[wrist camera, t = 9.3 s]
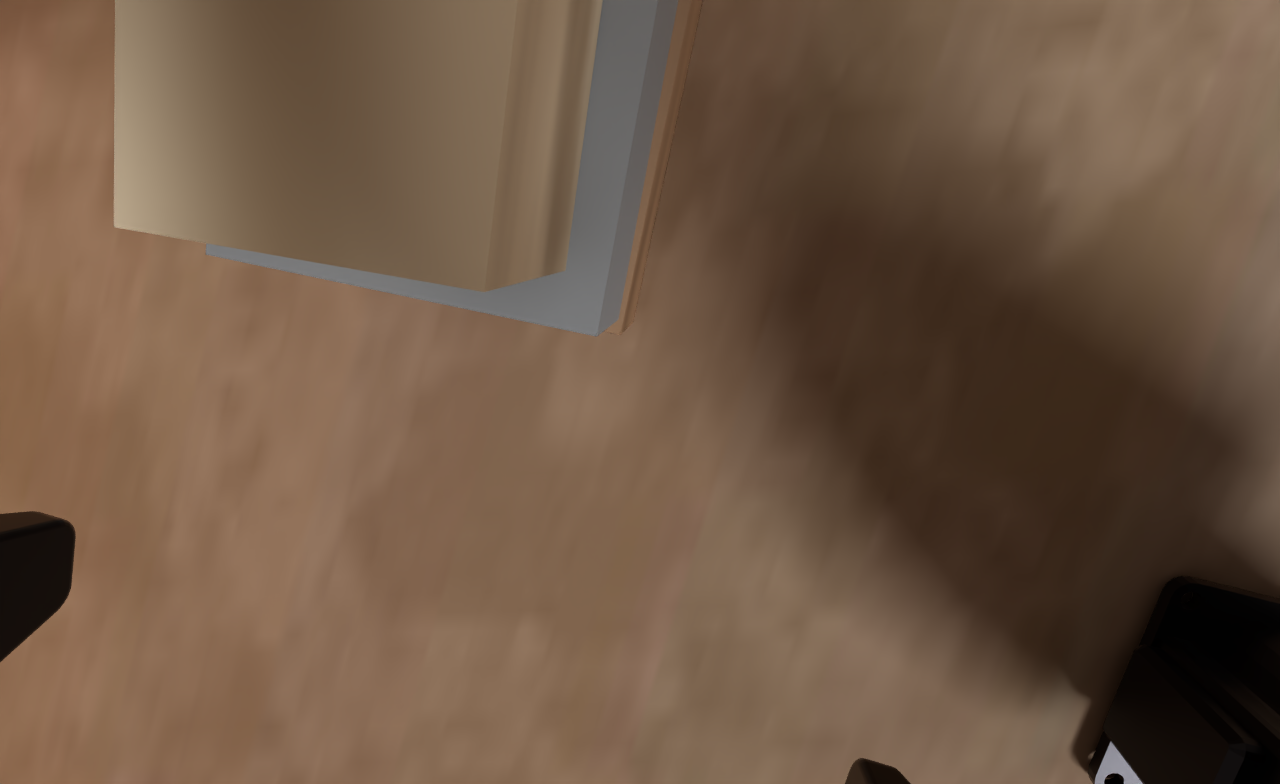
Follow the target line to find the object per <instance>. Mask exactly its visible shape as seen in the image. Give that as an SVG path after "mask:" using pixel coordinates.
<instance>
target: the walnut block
mask: <svg viewBox="0 0 1280 784" xmlns="http://www.w3.org/2000/svg"><path fill="white" fill-rule="evenodd" d="M702 2H703V0H678V5H677V10H676V16H675V21H674V26H673V32H672V37H671V42H670V48H669V53H668V58H667V64H666V69H665V74H664V80H663V85H662V90H661V96H660V101H659V106H658V112H657V117H656V122H655V127H654V133H653V138H652V143H651V149H650V154H649V159H648V165H647V170H646V175H645V181H644V186H643V191H642V197H641V202H640V207H639V213H638V218H637V223H636V229H635V234H634V239H633V245H632V250H631V255H630V260H629V266H628V271H627V276H626V282H625V287H624V292H623V298H622V303H621V308H620V314H619V319H618V320H617V321H616V322H615V323H613V324H612V325H611V326H610V327H608V328H607V329H606V330H604V331H605V332H609V333H614V334H618V335H621V334H622V333H623V332H624V331H625V330H626V329H627V328H628V327H629V326H630V325H631V324H632V323H633V321H634V316H635V312H636V307H637V302H638V298H639V293H640V289H641V284H642V279H643V275H644V270H645V265H646V261H647V256H648V252H649V247H650V242H651V238H652V233H653V228H654V224H655V219H656V215H657V210H658V205H659V201H660V196H661V191H662V187H663V182H664V178H665V173H666V168H667V164H668V159H669V154H670V150H671V145H672V141H673V136H674V131H675V127H676V122H677V117H678V113H679V108H680V104H681V99H682V94H683V90H684V85H685V80H686V76H687V71H688V67H689V62H690V57H691V53H692V48H693V43H694V39H695V34H696V30H697V25H698V20H699V16H700V11H701V6H702Z"/></svg>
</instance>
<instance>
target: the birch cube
mask: <svg viewBox="0 0 1280 784" xmlns="http://www.w3.org/2000/svg"><path fill="white" fill-rule="evenodd" d="M602 2H603V0H115V120H114V227H116V228H122V229H128V230H133V231H139V232H145V233H150V234H156V235H162V236H168V237H173V238H179V239H185V240H190V241H196V242H202V243H207V244H213V245H219V246H224V247H230V248H236V249H241V250H247V251H253V252H259V253H264V254H270V255H276V256H281V257H287V258H293V259H298V260H304V261H310V262H315V263H321V264H327V265H333V266H338V267H344V268H350V269H355V270H361V271H367V272H372V273H378V274H384V275H389V276H395V277H401V278H406V279H412V280H418V281H424V282H429V283H435V284H441V285H446V286H452V287H458V288H463V289H469V290H475V291H480V292H487V291H491V290H494V289H498V288H502V287H506V286H509V285H513V284H517V283H521V282H524V281H528V280H532V279H536V278H540V277H543V276H547V275H551V274H555V273H558V272H562V271H565V270H566V263H567V256H568V248H569V241H570V234H571V227H572V219H573V212H574V205H575V198H576V190H577V183H578V176H579V169H580V161H581V154H582V147H583V140H584V132H585V125H586V118H587V111H588V103H589V96H590V89H591V82H592V74H593V67H594V60H595V53H596V45H597V38H598V31H599V23H600V16H601V9H602Z"/></svg>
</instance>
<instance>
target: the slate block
mask: <svg viewBox="0 0 1280 784" xmlns="http://www.w3.org/2000/svg"><path fill="white" fill-rule="evenodd" d="M677 5H678V0H603V2H602V9H601V16H600V23H599V31H598V38H597V45H596V53H595V60H594V67H593V74H592V82H591V89H590V96H589V103H588V111H587V118H586V125H585V132H584V140H583V147H582V154H581V161H580V169H579V176H578V183H577V190H576V198H575V205H574V212H573V219H572V227H571V234H570V241H569V248H568V256H567V263H566V270H565V271H562V272H558V273H555V274H551V275H547V276H543V277H540V278H536V279H532V280H528V281H524V282H521V283H517V284H513V285H509V286H506V287H502V288H498V289H494V290H491V291H487V292H480V291H475V290H469V289H463V288H458V287H452V286H446V285H441V284H435V283H429V282H424V281H418V280H412V279H406V278H401V277H395V276H389V275H384V274H378V273H372V272H367V271H361V270H355V269H350V268H344V267H338V266H333V265H327V264H321V263H315V262H310V261H304V260H298V259H293V258H287V257H281V256H276V255H270V254H264V253H259V252H253V251H247V250H241V249H236V248H230V247H224V246H219V245H213V244H207V243H206V255H211V256H216V257H221V258H225V259H230V260H235V261H240V262H244V263H249V264H254V265H259V266H263V267H268V268H273V269H278V270H282V271H287V272H292V273H297V274H301V275H306V276H311V277H316V278H321V279H325V280H330V281H335V282H340V283H344V284H349V285H354V286H359V287H363V288H368V289H373V290H378V291H382V292H387V293H392V294H397V295H401V296H406V297H411V298H416V299H420V300H425V301H430V302H435V303H440V304H444V305H449V306H454V307H459V308H463V309H468V310H473V311H478V312H482V313H487V314H492V315H497V316H501V317H506V318H511V319H516V320H520V321H525V322H530V323H535V324H540V325H544V326H549V327H554V328H559V329H563V330H568V331H573V332H578V333H582V334H587V335H592V336H598V335H599V334H601V333H602V332H603V331H604V330H606V329H607V328H608V327H610V326H611V325H612V324H613V323H615V322H616V321H617V320H618V319H619V314H620V308H621V303H622V298H623V292H624V287H625V282H626V276H627V271H628V266H629V260H630V255H631V250H632V245H633V239H634V234H635V229H636V223H637V218H638V213H639V207H640V202H641V197H642V191H643V186H644V181H645V175H646V170H647V165H648V159H649V154H650V149H651V143H652V138H653V133H654V127H655V122H656V117H657V112H658V106H659V101H660V96H661V90H662V85H663V80H664V74H665V69H666V64H667V58H668V53H669V48H670V42H671V37H672V32H673V26H674V21H675V16H676V10H677Z"/></svg>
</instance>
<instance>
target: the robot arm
mask: <svg viewBox="0 0 1280 784" xmlns="http://www.w3.org/2000/svg"><path fill="white" fill-rule="evenodd" d="M75 538H76V536H75V530H74V527H73V525H72V524H71V523H70V522H69V521H67V520H64V519H61V518H58V517H54V516H51V515H48V514H44V513H41V512H35V511H29V512H18V513H6V514H0V662H1V661H2V660H3V659H4V658H5V657H7V656H8V655H9V654H10V653H11V652H12V651H13V650H14V649H15V648H17V647H18V646H19V645H20V644H21V643H22V642H23V641H24V640H25V639H27V638H28V637H29V636H30V635H31V634H32V633H33V632H34V631H35V630H37V629H38V628H39V627H40V626H41V625H42V624H43V623H44V622H45V621H47V620H48V619H49V618H50V617H51V616H52V615H53V614H54V613H56V612H57V611H58V610H59V609H60V607H61V606H62V605H63V603H64V602H65V600H66V599H67V597H68V595H69V592H70V589H71V583H72V572H73V561H74V549H75ZM1189 592H1193V595H1192V598H1191V599H1190V600H1189V601H1187V602H1185V603H1181V598H1182V597H1183V596H1184V594H1186V593H1189ZM1103 729H1104V732H1103V734H1102V736H1101V739H1100V741H1099V744H1098V746H1097V748H1096V751H1095V753H1094V756H1093V758H1092V760H1091V763H1090V765H1089V769H1088V774H1089V778H1090V780H1091V781H1092V783H1093V784H1280V599H1278V598H1274V597H1270V596H1265V595H1261V594H1257V593H1253V592H1249V591H1245V590H1241V589H1237V588H1233V587H1229V586H1225V585H1221V584H1217V583H1213V582H1209V581H1205V580H1201V579H1197V578H1193V577H1187V576H1180V577H1177V578H1173V579H1172V580H1171V581H1169V582H1168V583H1167V584H1166V585H1165V587H1164V588H1163V590H1162V593H1161V595H1160V597H1159V600H1158V602H1157V605H1156V607H1155V609H1154V612H1153V614H1152V617H1151V619H1150V621H1149V624H1148V626H1147V629H1146V631H1145V633H1144V636H1143V638H1142V641H1141V643H1140V645H1139V647H1138V648H1137V649H1136V650H1135V651H1134V653H1133V655H1132V657H1131V660H1130V662H1129V665H1128V667H1127V669H1126V672H1125V674H1124V677H1123V679H1122V682H1121V684H1120V686H1119V689H1118V691H1117V694H1116V696H1115V698H1114V701H1113V703H1112V706H1111V708H1110V710H1109V713H1108V715H1107V718H1106V720H1105V722H1104V725H1103ZM1112 773H1117V774H1116V775H1115V776H1114V777H1113V778H1111V779H1105V778H1106V777H1107V775H1109V774H1112ZM845 784H910V782H909V781H908V780H907V779H906V778H905V777H904V776H903V775H902V774H901V773H900V772H899V771H898V770H897V769H896V768H894V767H892V766H889V765H885V764H882V763H878V762H875V761H872V760H868V759H864V758H860V759H858V760H856V761H855V762H854V763H853V765H852V767H851V769H850V771H849V774H848V777H847V779H846V782H845Z"/></svg>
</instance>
